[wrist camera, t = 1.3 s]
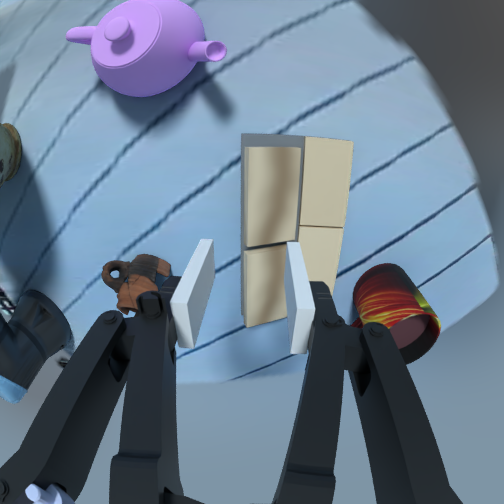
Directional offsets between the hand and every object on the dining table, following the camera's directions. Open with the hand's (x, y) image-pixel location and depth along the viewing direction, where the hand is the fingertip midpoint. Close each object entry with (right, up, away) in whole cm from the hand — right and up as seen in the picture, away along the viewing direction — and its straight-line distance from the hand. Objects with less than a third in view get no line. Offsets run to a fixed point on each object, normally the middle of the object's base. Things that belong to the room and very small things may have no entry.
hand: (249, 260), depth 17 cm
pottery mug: (-16, -3, +24) cm, 29 cm away
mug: (+20, -7, +24) cm, 32 cm away
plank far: (+2, -4, +20) cm, 20 cm away
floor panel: (+5, +3, +19) cm, 20 cm away
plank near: (+2, +7, +14) cm, 16 cm away
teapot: (-11, +26, +9) cm, 30 cm away
